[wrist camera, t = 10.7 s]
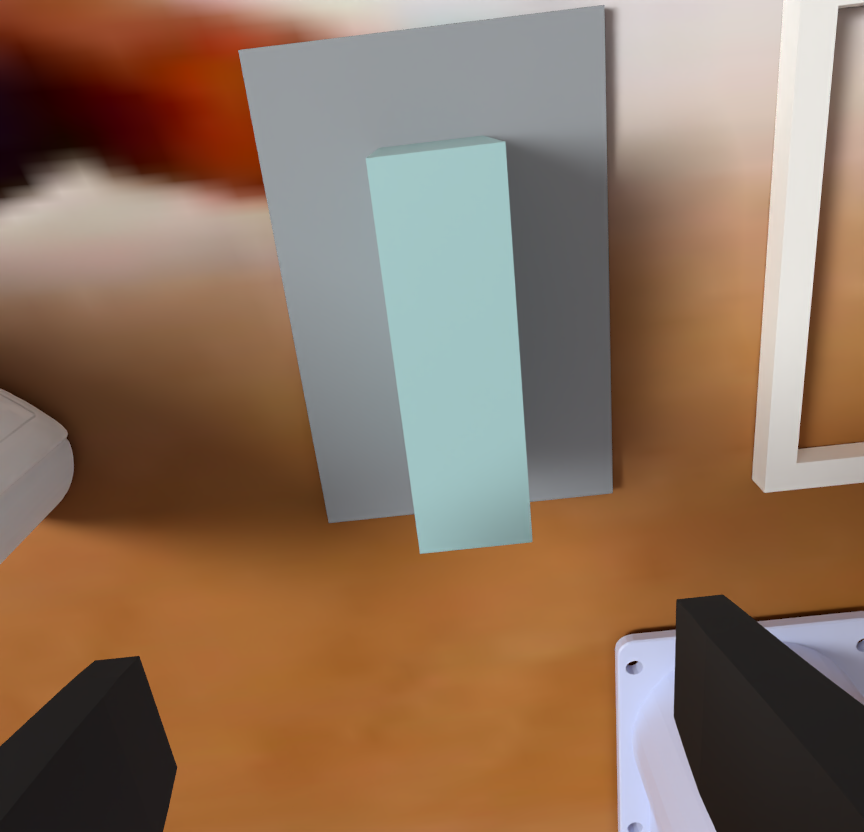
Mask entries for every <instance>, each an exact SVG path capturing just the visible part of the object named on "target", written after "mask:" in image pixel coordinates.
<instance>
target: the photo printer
mask: <svg viewBox="0 0 864 832" xmlns="http://www.w3.org/2000/svg"><path fill="white" fill-rule="evenodd" d="M67 436H68V433H67V430H66V429H65V428H64V427H63V426H62V425H61V424H60V423H58V422H57V421H56V420H54V419H53V418H51V417H50V416H48V415H47V414H45V413H44V412H42V411H41V410H39V409H37V408H36V407H34V406H33V405H31V404H29V403H28V402H26V401H24V400H22V399H20V398H18V397H16V396H15V395H13V394H11V393H9V392H7V391H5V390H3V389H1V388H0V564H1V563H2V562H3V561H4V560H5V559H6V558H7V557H8V556H9V555H10V554H11V553H12V552H13V550H14V549H15V548H16V547H17V546H18V545H19V544H20V543H21V542H22V541H23V540H24V539H25V538H26V537H27V536H28V535H29V534H30V533H31V532H32V531H33V530H34V529H35V528H36V527H37V526H38V525H39V524H40V522H41V521H42V520H43V519H44V518H45V517H46V516H47V515H48V514H49V513H50V512H51V511H52V510H53V509H54V508H55V507H56V506H57V505H58V504H59V503H60V501H61V500H62V499H63V498H64V496H65V495H66V493H67V491H68V490H69V487H70V484H71V482H72V477H73V472H74V460H73V453H72V448H71V445H70V442H69V441H68V440H67Z"/></svg>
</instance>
